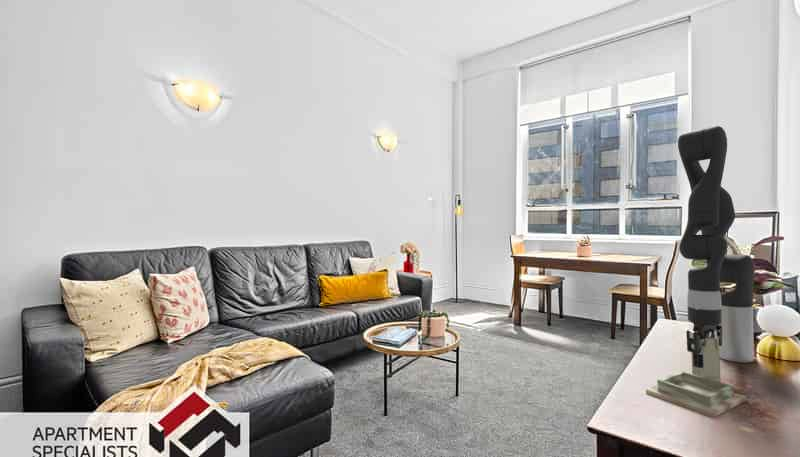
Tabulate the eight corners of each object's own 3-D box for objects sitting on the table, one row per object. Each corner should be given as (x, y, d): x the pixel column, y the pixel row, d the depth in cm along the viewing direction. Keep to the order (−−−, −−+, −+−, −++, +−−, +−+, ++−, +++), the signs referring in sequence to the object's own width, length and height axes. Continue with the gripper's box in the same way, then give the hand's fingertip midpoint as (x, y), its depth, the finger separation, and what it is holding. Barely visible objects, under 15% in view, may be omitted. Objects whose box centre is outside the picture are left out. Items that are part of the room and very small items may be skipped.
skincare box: (721, 384, 106) (720, 340, 106) (703, 383, 107) (702, 339, 107) (708, 375, 112) (707, 333, 112) (691, 374, 113) (690, 332, 113)
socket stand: (680, 379, 110) (679, 367, 110) (746, 400, 97) (746, 386, 97) (646, 392, 103) (645, 379, 103) (712, 417, 89) (712, 402, 89)
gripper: (702, 300, 116) (703, 355, 116) (675, 306, 109) (676, 365, 110) (733, 304, 109) (734, 363, 110) (706, 311, 103) (707, 374, 103)
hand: (705, 364), depth 110 cm, fingers closed on skincare box, 7 cm apart
